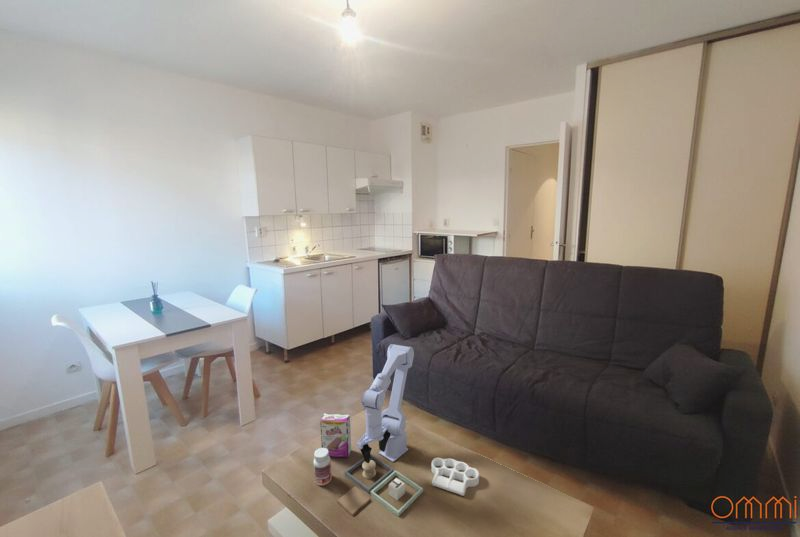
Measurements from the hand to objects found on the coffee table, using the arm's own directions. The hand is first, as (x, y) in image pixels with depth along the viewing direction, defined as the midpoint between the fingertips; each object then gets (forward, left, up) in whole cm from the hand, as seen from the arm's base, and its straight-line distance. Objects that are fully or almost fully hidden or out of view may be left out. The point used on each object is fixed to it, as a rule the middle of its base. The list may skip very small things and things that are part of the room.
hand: (374, 455), depth 127 cm
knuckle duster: (-19, +22, -10) cm, 31 cm away
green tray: (0, +11, -9) cm, 14 cm away
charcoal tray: (0, -3, -9) cm, 10 cm away
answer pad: (+12, +2, -9) cm, 15 cm away
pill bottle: (+13, -14, -10) cm, 22 cm away
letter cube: (0, +11, -10) cm, 14 cm away
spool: (0, -3, -10) cm, 10 cm away
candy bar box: (+1, -21, -10) cm, 24 cm away
